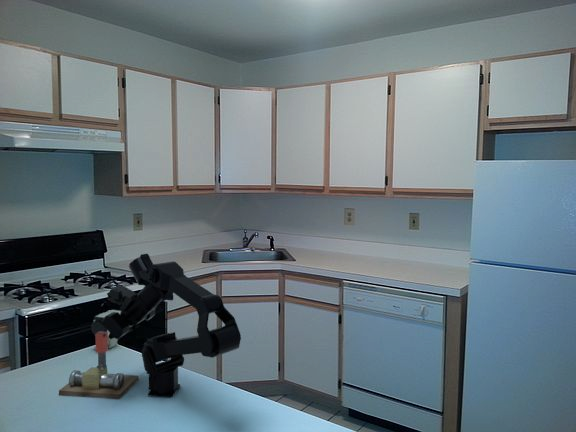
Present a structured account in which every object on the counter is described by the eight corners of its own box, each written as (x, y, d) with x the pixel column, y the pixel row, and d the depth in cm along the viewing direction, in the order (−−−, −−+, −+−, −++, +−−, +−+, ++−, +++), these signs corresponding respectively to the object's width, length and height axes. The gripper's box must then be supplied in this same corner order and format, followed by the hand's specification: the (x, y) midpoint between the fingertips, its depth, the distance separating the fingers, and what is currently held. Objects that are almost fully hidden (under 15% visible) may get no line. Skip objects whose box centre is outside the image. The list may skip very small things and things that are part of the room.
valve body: (125, 385, 118) (124, 369, 118) (116, 392, 114) (116, 376, 113) (78, 382, 119) (77, 366, 119) (68, 389, 115) (68, 373, 115)
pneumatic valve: (127, 341, 152) (127, 306, 151) (103, 353, 141) (102, 316, 140) (114, 339, 154) (113, 304, 153) (88, 351, 143) (88, 314, 142)
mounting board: (138, 379, 123) (138, 375, 123) (119, 399, 112) (119, 394, 112) (83, 376, 124) (83, 372, 124) (59, 395, 113) (58, 390, 113)
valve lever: (108, 369, 121) (107, 331, 120) (104, 373, 119) (103, 334, 118) (100, 369, 121) (99, 331, 120) (96, 372, 119) (95, 333, 118)
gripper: (144, 269, 127) (109, 306, 130) (107, 284, 109) (67, 326, 111) (171, 298, 126) (135, 334, 129) (138, 317, 108) (97, 359, 110)
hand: (110, 337), depth 120 cm, fingers closed
